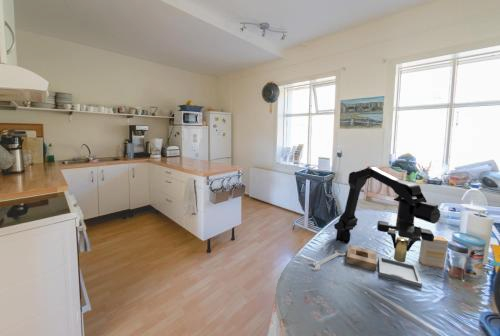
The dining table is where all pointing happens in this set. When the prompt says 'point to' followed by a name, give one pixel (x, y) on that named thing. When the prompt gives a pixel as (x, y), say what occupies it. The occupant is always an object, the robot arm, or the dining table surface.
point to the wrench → (325, 260)
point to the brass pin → (400, 249)
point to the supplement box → (433, 252)
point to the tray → (399, 272)
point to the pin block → (362, 257)
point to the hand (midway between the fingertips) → (400, 249)
